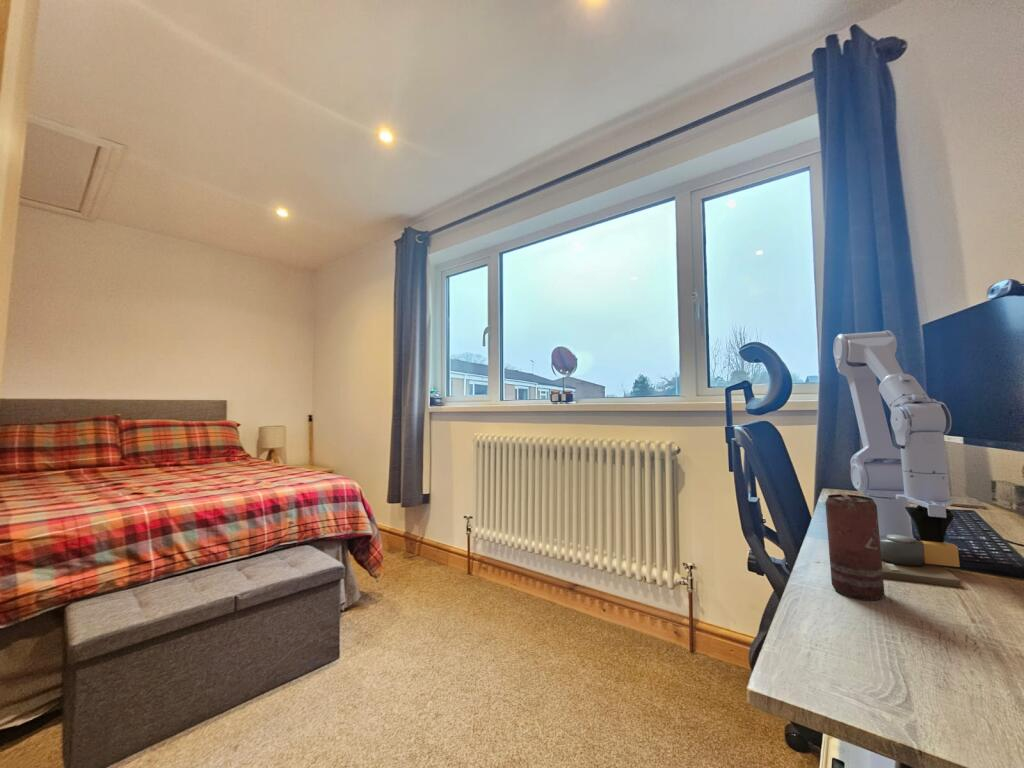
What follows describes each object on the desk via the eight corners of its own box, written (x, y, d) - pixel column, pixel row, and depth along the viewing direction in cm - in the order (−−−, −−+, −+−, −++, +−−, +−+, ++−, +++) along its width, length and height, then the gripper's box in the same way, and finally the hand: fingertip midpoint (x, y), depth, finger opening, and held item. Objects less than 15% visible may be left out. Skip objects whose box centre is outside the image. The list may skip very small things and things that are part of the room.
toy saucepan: (883, 562, 71) (881, 540, 71) (873, 551, 76) (871, 530, 77) (965, 571, 66) (963, 547, 67) (949, 559, 72) (946, 536, 72)
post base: (854, 551, 81) (854, 544, 81) (924, 558, 76) (924, 551, 76) (875, 577, 68) (875, 569, 69) (961, 587, 64) (960, 579, 64)
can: (863, 583, 66) (855, 492, 67) (896, 601, 60) (887, 500, 61) (822, 583, 67) (815, 492, 68) (849, 601, 60) (841, 501, 61)
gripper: (888, 465, 82) (894, 537, 81) (900, 475, 71) (908, 559, 70) (938, 467, 78) (946, 542, 77) (961, 478, 67) (970, 567, 66)
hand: (932, 551), depth 73 cm, fingers closed
